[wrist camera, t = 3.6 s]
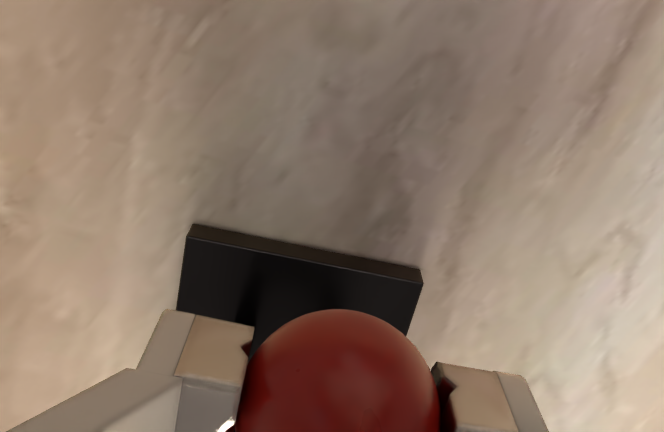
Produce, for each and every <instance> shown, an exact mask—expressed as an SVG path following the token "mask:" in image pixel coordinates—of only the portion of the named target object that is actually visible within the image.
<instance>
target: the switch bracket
mask: <svg viewBox="0 0 664 432" xmlns="http://www.w3.org/2000/svg"><path fill="white" fill-rule="evenodd" d="M422 287H423V279H422V275H421V271H420V270H419V269H414V268H409V267H404V266H400V265H395V264H390V263H385V262H380V261H375V260H370V259H365V258H360V257H355V256H350V255H345V254H340V253H335V252H330V251H325V250H320V249H315V248H310V247H305V246H300V245H295V244H290V243H285V242H280V241H275V240H270V239H265V238H261V237H256V236H251V235H246V234H241V233H236V232H231V231H226V230H221V229H216V228H211V227H206V226H201V225H196V224H192V226H191V228H190V230H189V232H188V234H187V236H186V242H185V249H184V256H183V263H182V271H181V278H180V285H179V292H178V299H177V306H176V311H181V312H186V313H192V314H195V315H196V316H197V315H201V316H206V317H211V318H216V319H220V320H225V321H230V322H235V323H239V324H244V325H249V326H254V327H255V329H254V334H253V339H252V344H251V349H250V354H249V359H248V363H249V361H250V359H251V358H252V356H253V355H254V353H255V352H256V350H257V349H258V348H259V347H260V346H261V344H262V343H263V342H264V341H265V340H266V339H267V338H268V337H269V336H270V335H271V334H272V333H274V332H275V331H276V330H278V329H279V328H280V327H281V326H283V325H284V324H286V323H288V322H290V321H292V320H294V319H296V318H298V317H300V316H302V315H305V314H308V313H312V312H317V311H322V310H330V309H346V310H353V311H358V312H363V313H366V314H369V315H372V316H374V317H377V318H379V319H381V320H383V321H385V322H387V323H389V324H390V325H392V326H393V327H394V328H396V329H397V330H399V331H400V332H401V333H403V334H404V335H405V336H406V335H407V332H408V329H409V326H410V323H411V320H412V317H413V314H414V311H415V308H416V305H417V302H418V299H419V296H420V293H421V290H422ZM233 432H235V426H234V431H233Z"/></svg>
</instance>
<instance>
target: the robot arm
mask: <svg viewBox="0 0 664 432" xmlns="http://www.w3.org/2000/svg"><path fill="white" fill-rule="evenodd" d="M254 329H255V327H254V326H249V325H244V324H239V323H235V322H230V321H225V320H220V319H216V318H211V317H206V316H201V315H197V316H196V315H195V314H192V313H186V312H181V311H176V310H170V309H166V310H165V311H164V312H163V313H162V314H161V317H160V319H159V321H158V323H157V325H156V327H155V329H154V332H153V334H152V336H151V338H150V340H149V342H148V344H147V347H146V349H145V351H144V353H143V355H142V357H141V359H140V362H139V364H138V366H137V368H136V370H135V369H129V368H126V369H124V370H122V371H120V372H118V373H116V374H115V375H113V376H111V377H109V378H107V379H105V380H103V381H101V382H99V383H97V384H96V385H94V386H92V387H90V388H88V389H86V390H84V391H82V392H80V393H79V394H77V395H75V396H73V397H71V398H69V399H67V400H65V401H63V402H62V403H60V404H58V405H56V406H54V407H52V408H50V409H48V410H46V411H45V412H43V413H41V414H39V415H37V416H35V417H33V418H31V419H29V420H27V421H26V422H24V423H22V424H20V425H18V426H16V427H14V428H12V429H10V430H9V431H7V432H233V431H234V426H235V421H236V416H237V412H238V407H239V402H240V397H241V393H242V388H243V383H244V378H245V373H246V368H247V364H248V359H249V354H250V349H251V344H252V339H253V334H254ZM431 374H432V376H433V378H434V381H435V384H436V388H437V392H438V396H439V402H440V432H549V431H548V429H547V427H546V424H545V422H544V420H543V418H542V415H541V413H540V411H539V409H538V406H537V404H536V402H535V400H534V397H533V395H532V393H531V391H530V388H529V386H528V384H527V381H526V380H525V379H524V378H523V377H522V376H521V375H516V374H509V373H503V372H497V371H486V370H480V369H475V368H469V367H463V366H458V365H452V364H446V363H441V362H436V363H435V365H434V366H433V367H432V369H431Z"/></svg>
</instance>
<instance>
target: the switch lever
mask: <svg viewBox="0 0 664 432" xmlns="http://www.w3.org/2000/svg"><path fill="white" fill-rule="evenodd" d="M235 432H440V402H439V396H438V392H437V388H436V384H435V381H434V378H433V376H432V374H431V371H430V369H429V367H428V365H427V363H426V361H425V360H424V358H423V357H422V355H421V354H420V352H419V351H418V349H417V348H416V347H415V346H414V345H413V343H412V342H411V341H410V340H409V339H408V338H407V337H406V336H405V335H404V334H403V333H401V332H400V331H399V330H397V329H396V328H394V327H393V326H392V325H390V324H389V323H387V322H385V321H383V320H381V319H379V318H377V317H374V316H372V315H369V314H366V313H363V312H358V311H353V310H346V309H330V310H322V311H317V312H312V313H308V314H305V315H302V316H300V317H298V318H296V319H294V320H292V321H290V322H288V323H286V324H284V325H283V326H281V327H280V328H279V329H278V330H276V331H275V332H274V333H272V334H271V335H270V336H269V337H268V338H267V339H266V340H265V341H264V342H263V343H262V344H261V346H260V347H259V348H258V349H257V350H256V352H255V353H254V355H253V356H252V358H251V359H250V361H249V363H248V364H247V368H246V373H245V378H244V383H243V388H242V393H241V397H240V402H239V407H238V412H237V416H236V421H235Z"/></svg>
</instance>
